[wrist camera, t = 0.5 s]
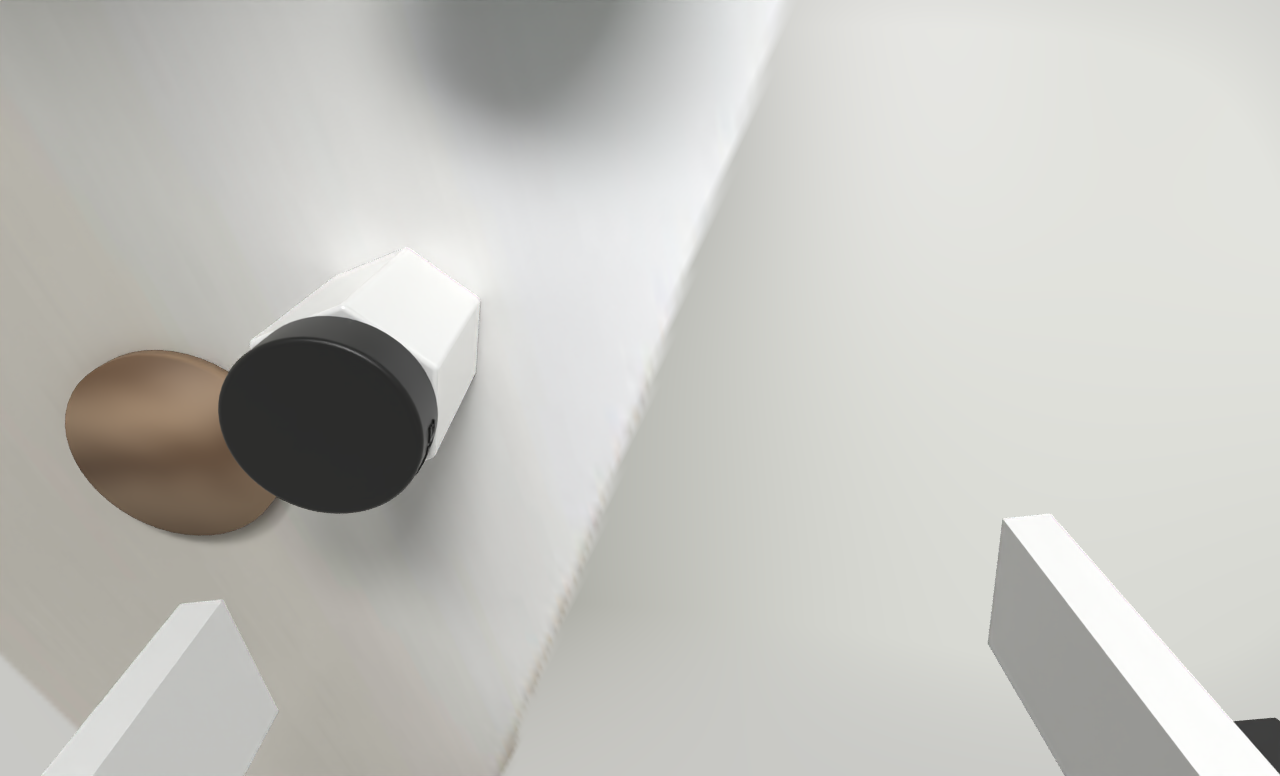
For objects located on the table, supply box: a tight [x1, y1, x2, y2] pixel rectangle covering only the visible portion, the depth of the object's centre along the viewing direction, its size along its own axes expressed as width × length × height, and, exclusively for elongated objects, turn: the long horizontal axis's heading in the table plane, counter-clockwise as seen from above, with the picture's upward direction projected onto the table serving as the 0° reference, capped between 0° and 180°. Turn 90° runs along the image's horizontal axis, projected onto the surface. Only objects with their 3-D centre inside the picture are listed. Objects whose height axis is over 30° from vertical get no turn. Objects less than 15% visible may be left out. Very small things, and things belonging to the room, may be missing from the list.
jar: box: [218, 247, 480, 514], centre depth 34 cm, size 9×8×12 cm
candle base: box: [65, 350, 276, 535], centre depth 42 cm, size 12×12×1 cm
